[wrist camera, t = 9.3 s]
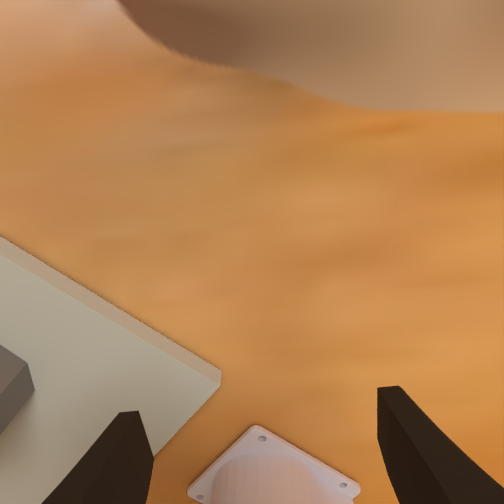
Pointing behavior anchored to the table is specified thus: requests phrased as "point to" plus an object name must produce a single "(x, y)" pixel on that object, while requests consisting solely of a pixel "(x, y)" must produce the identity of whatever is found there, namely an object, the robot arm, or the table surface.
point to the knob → (13, 386)
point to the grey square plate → (83, 375)
